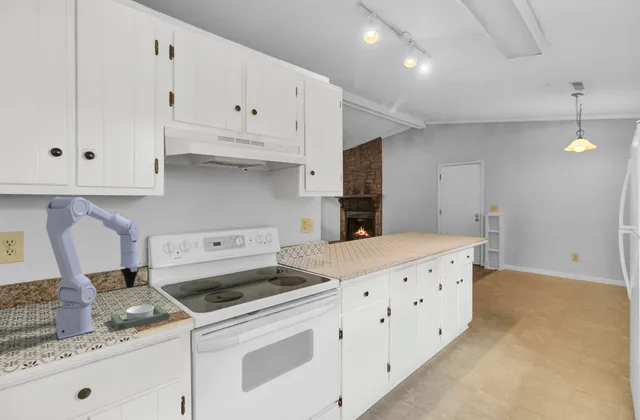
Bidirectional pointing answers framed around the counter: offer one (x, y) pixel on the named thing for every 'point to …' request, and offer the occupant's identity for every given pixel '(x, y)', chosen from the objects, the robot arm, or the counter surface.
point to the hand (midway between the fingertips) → (129, 286)
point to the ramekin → (139, 312)
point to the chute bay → (159, 316)
